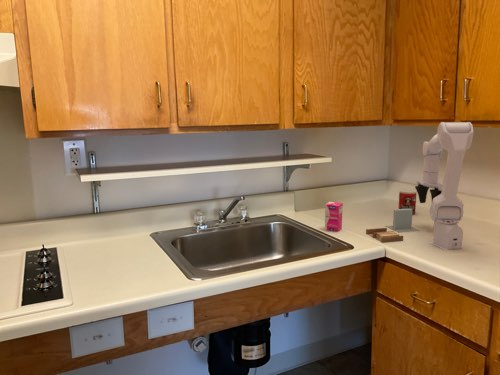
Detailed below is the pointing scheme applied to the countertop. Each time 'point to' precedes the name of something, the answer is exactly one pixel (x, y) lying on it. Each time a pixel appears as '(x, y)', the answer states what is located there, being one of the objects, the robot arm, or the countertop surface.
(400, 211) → the grey square slab
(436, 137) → the robot arm
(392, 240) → the walnut rack
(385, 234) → the upper offcut
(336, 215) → the supplement box
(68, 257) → the countertop surface
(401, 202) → the canned food
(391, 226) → the rubber mat
